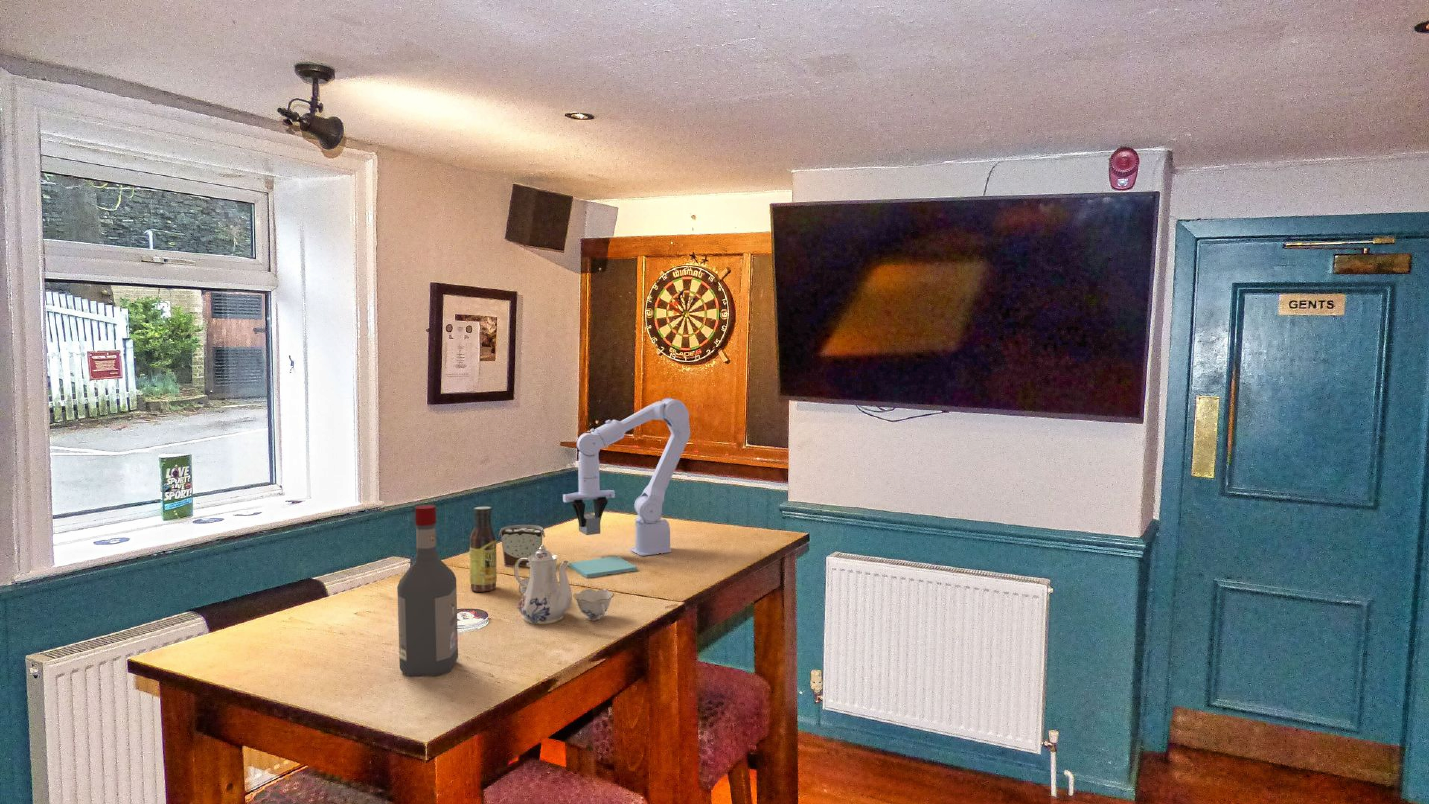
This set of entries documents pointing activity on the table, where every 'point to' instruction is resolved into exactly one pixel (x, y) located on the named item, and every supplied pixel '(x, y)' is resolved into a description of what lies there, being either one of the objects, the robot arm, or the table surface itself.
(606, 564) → the teal board
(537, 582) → the chinaware
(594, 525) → the block
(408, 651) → the liquor
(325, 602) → the table surface
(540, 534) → the food container
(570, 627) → the table surface
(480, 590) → the sauce bottle
